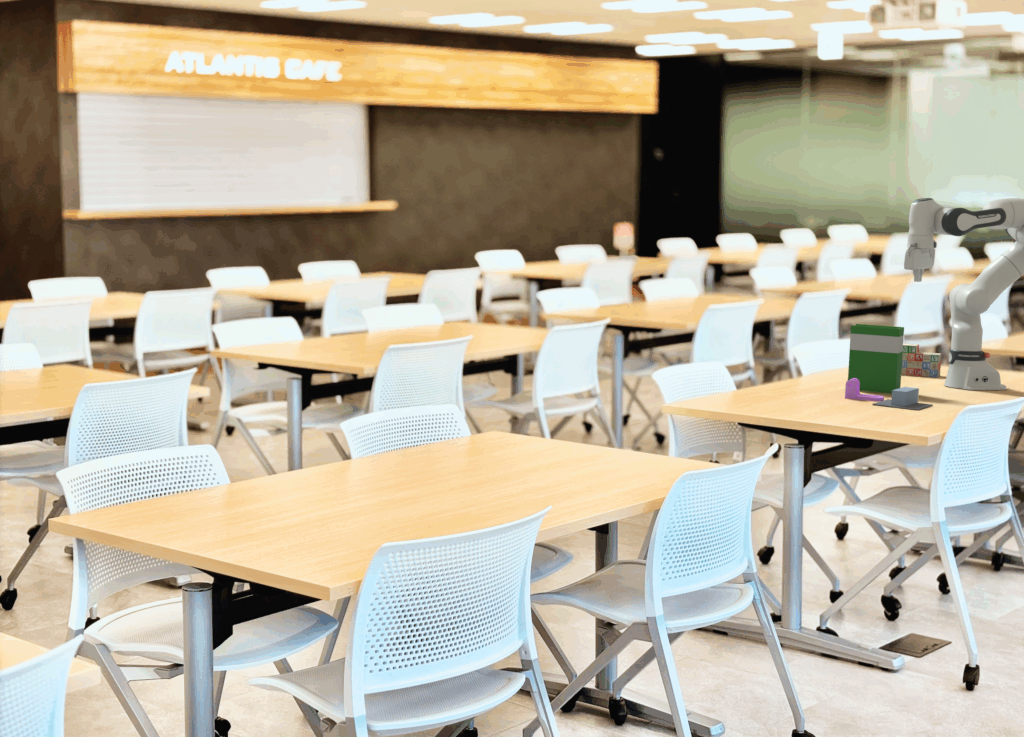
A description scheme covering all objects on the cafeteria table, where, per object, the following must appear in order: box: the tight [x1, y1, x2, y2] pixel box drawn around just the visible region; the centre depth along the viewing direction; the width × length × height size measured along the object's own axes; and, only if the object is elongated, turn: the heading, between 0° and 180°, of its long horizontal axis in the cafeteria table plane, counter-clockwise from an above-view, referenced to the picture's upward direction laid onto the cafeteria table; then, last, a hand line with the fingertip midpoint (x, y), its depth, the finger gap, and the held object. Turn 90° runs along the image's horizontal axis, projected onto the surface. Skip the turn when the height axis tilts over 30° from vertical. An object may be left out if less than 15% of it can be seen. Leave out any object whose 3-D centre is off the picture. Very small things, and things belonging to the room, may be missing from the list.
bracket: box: [844, 378, 885, 402], centre depth 470 cm, size 13×6×7 cm, turn 62°
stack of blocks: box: [901, 343, 942, 378], centre depth 537 cm, size 21×6×12 cm, turn 61°
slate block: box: [890, 386, 920, 406], centre depth 459 cm, size 5×5×12 cm
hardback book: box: [847, 323, 905, 395], centre depth 489 cm, size 18×7×24 cm, turn 61°
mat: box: [871, 398, 934, 411], centre depth 458 cm, size 14×16×1 cm
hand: (917, 281), depth 479 cm, fingers closed
